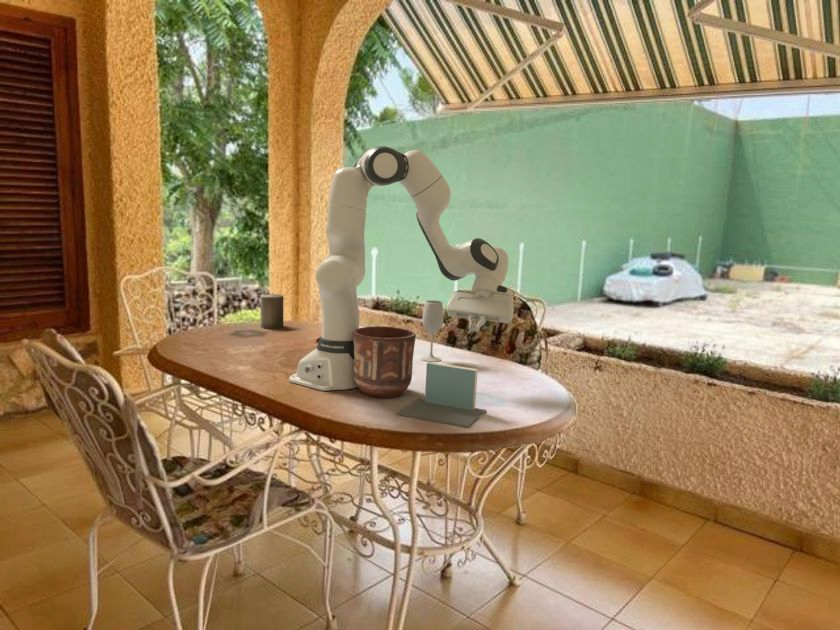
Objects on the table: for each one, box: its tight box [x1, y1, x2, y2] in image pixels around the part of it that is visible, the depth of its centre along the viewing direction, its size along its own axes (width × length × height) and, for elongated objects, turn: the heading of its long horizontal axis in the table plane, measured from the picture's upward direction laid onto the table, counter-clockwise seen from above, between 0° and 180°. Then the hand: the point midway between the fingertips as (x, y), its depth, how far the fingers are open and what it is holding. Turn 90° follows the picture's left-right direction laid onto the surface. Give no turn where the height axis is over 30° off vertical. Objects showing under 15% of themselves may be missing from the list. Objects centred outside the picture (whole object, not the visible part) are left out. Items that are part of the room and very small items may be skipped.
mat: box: [395, 397, 487, 429], centre depth 166 cm, size 20×15×1 cm
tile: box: [424, 362, 479, 410], centre depth 170 cm, size 14×2×11 cm, turn 67°
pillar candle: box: [260, 292, 285, 330], centre depth 268 cm, size 10×10×15 cm
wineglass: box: [420, 300, 444, 363], centre depth 222 cm, size 8×8×21 cm
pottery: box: [353, 325, 417, 399], centre depth 180 cm, size 18×18×18 cm
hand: (473, 329), depth 184 cm, fingers closed
